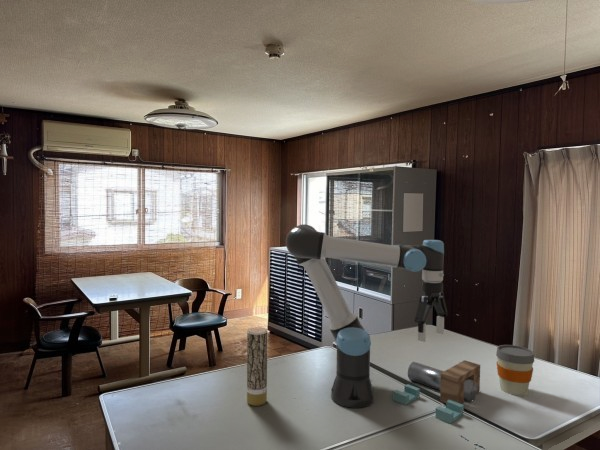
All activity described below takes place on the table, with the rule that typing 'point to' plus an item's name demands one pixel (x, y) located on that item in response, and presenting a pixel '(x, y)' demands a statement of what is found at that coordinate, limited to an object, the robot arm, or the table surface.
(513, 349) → the reusable coffee cup
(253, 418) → the table surface
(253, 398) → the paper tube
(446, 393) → the brown wooden arched block
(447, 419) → the v-blocks
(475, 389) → the steel axle
